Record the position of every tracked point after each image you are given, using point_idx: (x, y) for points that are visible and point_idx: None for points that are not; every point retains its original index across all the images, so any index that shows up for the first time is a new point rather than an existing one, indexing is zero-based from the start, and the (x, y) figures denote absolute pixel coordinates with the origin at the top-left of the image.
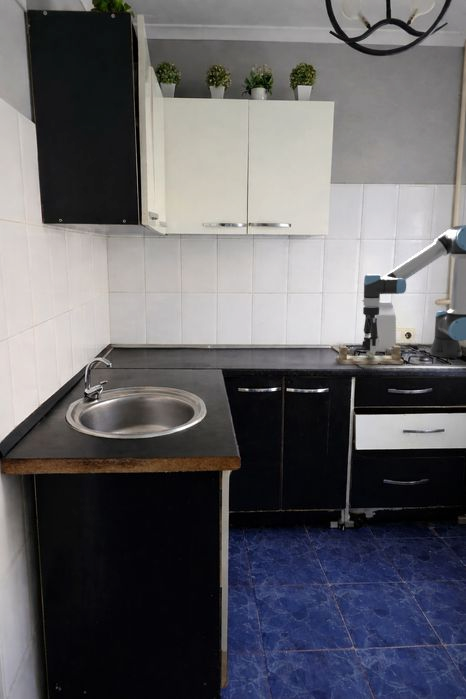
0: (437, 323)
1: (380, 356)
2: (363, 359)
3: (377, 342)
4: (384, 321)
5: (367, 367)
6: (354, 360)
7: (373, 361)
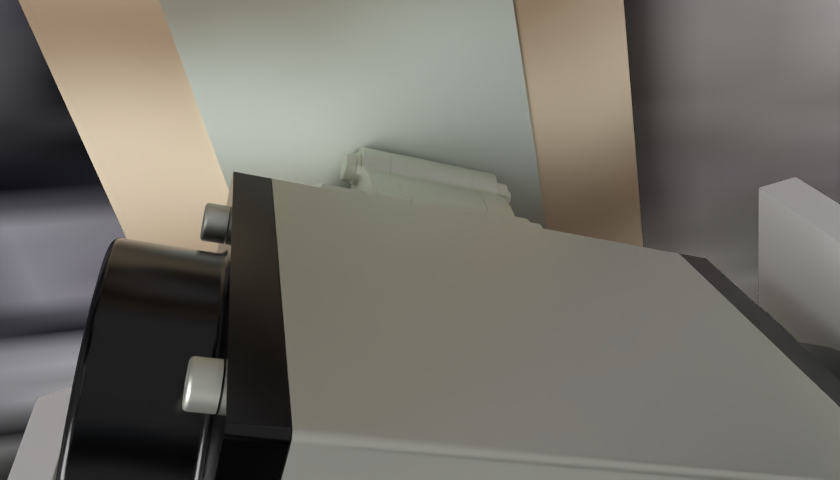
0: None
1: (134, 22)
2: None
3: (349, 274)
4: None
5: (833, 199)
6: None
7: (633, 144)
